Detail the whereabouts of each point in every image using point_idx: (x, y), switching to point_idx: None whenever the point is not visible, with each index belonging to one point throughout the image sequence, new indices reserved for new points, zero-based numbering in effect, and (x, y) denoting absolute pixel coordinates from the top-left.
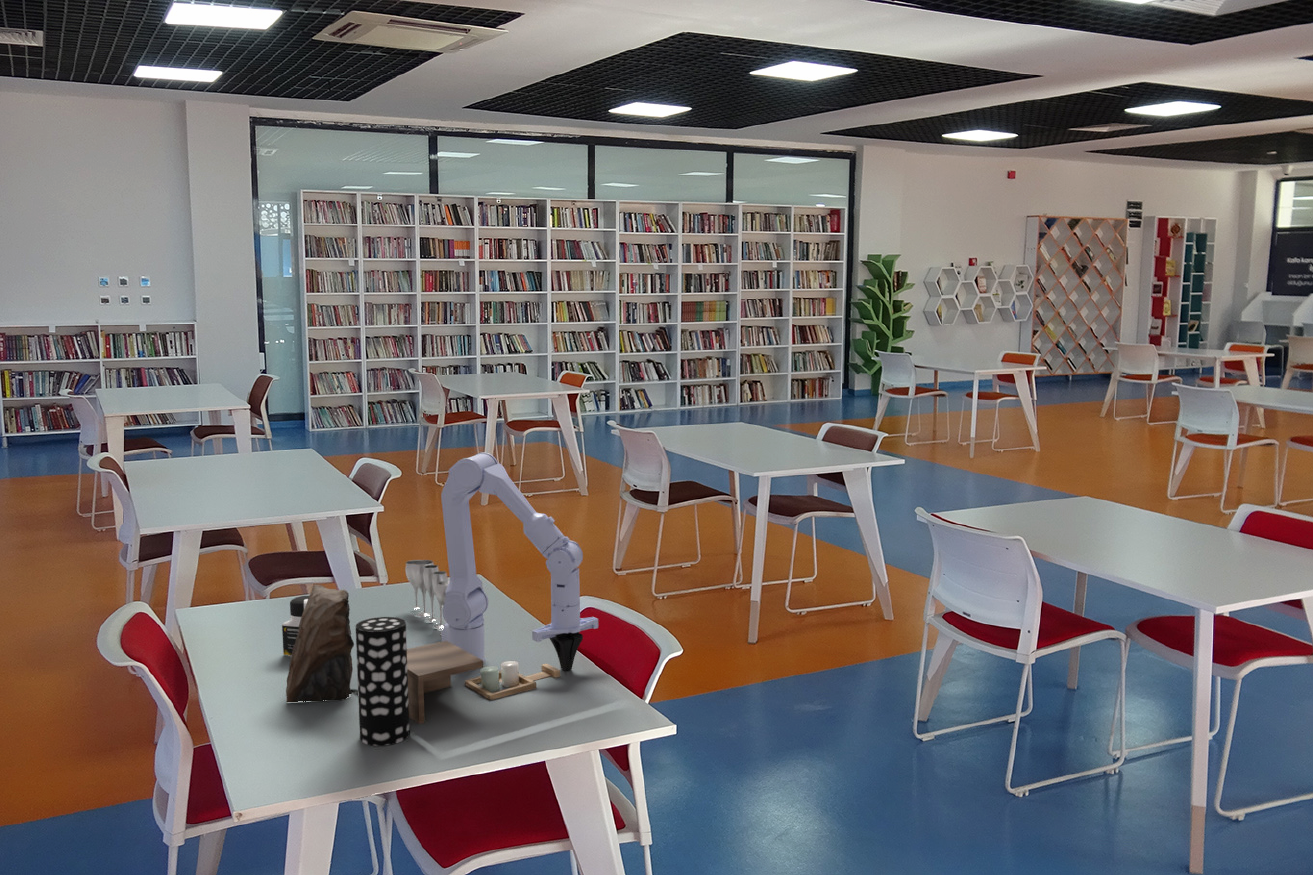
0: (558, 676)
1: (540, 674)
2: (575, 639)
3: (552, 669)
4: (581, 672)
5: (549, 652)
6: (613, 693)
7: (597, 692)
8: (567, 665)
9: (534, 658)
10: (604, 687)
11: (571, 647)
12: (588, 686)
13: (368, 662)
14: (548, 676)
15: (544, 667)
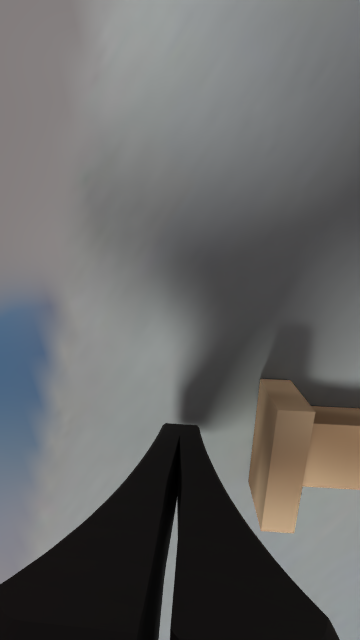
0: (278, 392)
1: (333, 466)
2: (116, 633)
3: (299, 447)
4: (111, 405)
5: None
6: (149, 21)
7: (213, 109)
8: (195, 439)
9: None
10: (135, 153)
11: (159, 542)
12: (195, 228)
13: None
14: (319, 423)
15: (295, 503)
